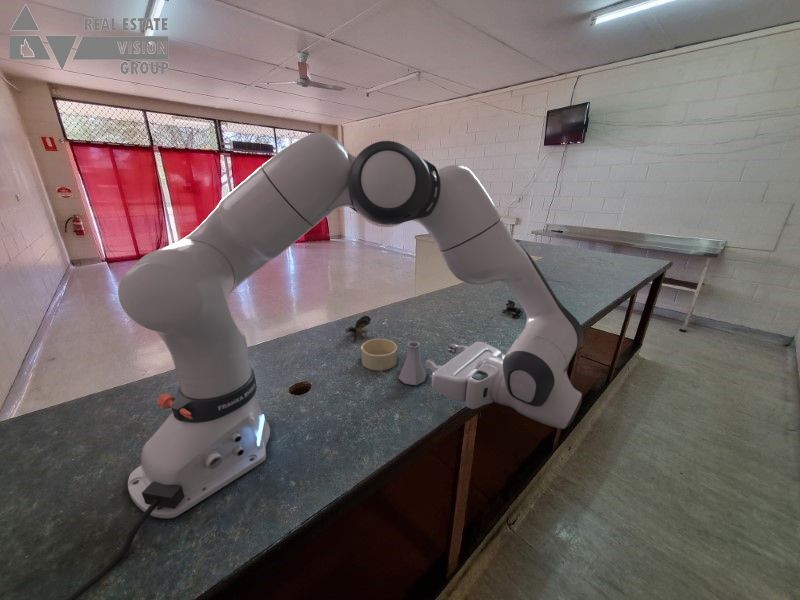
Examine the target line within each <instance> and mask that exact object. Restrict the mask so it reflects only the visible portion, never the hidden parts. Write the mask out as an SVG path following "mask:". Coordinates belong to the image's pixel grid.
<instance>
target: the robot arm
mask: <svg viewBox="0 0 800 600" xmlns="http://www.w3.org/2000/svg"><path fill="white" fill-rule="evenodd" d="M345 207H348V208H350V209H351V210H352V211H354V212H356V213H357V214H358V215H359V216H360V217H362V219H364V220H365V221H366V222H367V223H369V224H371V225H373V226H376V227H380V228H393V227H397V226H400V225H402V224H404V223H407V222H410V221H414V222H416V223H418V224H420V225H421V226H422V227H423V228H424V229H425V230H426V231H427V232H428V234H429V235H430V237H431V238H432V241H433V243H434V244H435V247H436V248H437V250H438V252H439V254H440V256H441V258H442V260H443V262H444V264H445V266H446V267H447V268H448V270H449V271H450V272H451V273H452V275H453V276H454V277H455V278H456V279H458V280H459V281H461V282H464V283H467V284H471V285H477V286H478V285H480V286H481V285H487V284H492V283H497V282H502V283H503V284H505V285H506V286H508V288H509V289H510V291H511V292H512V294H513V295H514V297H515V298H516V300H517V301H518V303H519V304H520V306H521V307H522V308H523V310H524V312H525V314H526V322H525V325H524V327H523V329H522V331H521V333H520V334H519V335H518V336H517V338H516V339H515V340H514V342H513V343H512V344H511V346H510V348H509V349H508V350H507V352H506V353H503V351H502V350H501V349H499V348H497V347H495V346H493V345H491V344H488V343H487V342H483V341H475V342H474V343H473V344H472V343H471V345H469V346H468V345H458V344H455V343H451V344H449V345H448V349H447V352H448V353H451V354H452V355H455V354H457V355H456V356H454V357H452V358H451V359H450V360H448V361H447V362H446V363H445V364H443V365H440V364H439V365H437V364H436V360H435V359H432V358H428V359H426V360H425V361H424V367H425V368H426V369H427V370H430V371H431V373H432V375H431V387H432V389H433V391H435V392H437V393H439V394H440V395H442V396H444V397H446V398H448V399H450V400H452V401H455V402H458V403H459V402H460V403H462V402H464V404H465V407H466V408H468V409H470V410H476V409H479V408H481V407H483V406H485V405H488V404H492V403H496V404H499V405H501V406H507V407H510V408H512V409H513V410H515V411H516V412H517V413H518V414H520V415H522V416H524V417H527V419H530V420H532V421H536V422H537V423H540V424H543V425H546V426H548V427H552V428H555V429H561V430H564V429H566V428H569V426H570V425H571V424H572V422H573V421H574V420H575V417H576V415H577V413H578V412H579V409H580V407H581V405H582V402H583V393H582V392H581V391H579V390H577V389H576V388H575V387H574V385H573V384H572V382H571V380H570V379H569V376H568V372H567V368H568V366H569V364H570V362H571V360H572V359H573V357H574V356H575V354H576V353H577V351H578V350H579V348H580V347H581V345H582V344H583V342H584V339H585V338H584V337H585V336H584V335H585V333H584V330H583V327H582V325H581V323H580V321H578V319H577V318H576V317H575V316H574V315H573V314H572V313H571V312H570V311H569V310H568V309H567V308H566V307H565V306H564V305H563V304H562V303H561V302H560V300H559V299H558V297H557V296H556V294H555V293H554V291H553V290H552V288H551V286H550V284H549V283H548V280H546V278H545V276H544V274H543V273H542V272H541V270H540V268H539V266H538V265H537V263H536V262H535V260H534V259H533V257H532V255H530V253H529V252H528V251H527V250H526V248H524V246H522V245H521V244H520V243H518V242H517V241H516V240H515V238H514V237H513V235H512V234H511V232H510V231H509V229H508V227H507V225H506V224H505V222H504V220H503V218H502V216H501V214H500V212H499V211H498V208H497V206H496V205H495V203H494V201H493V199H492V198H491V196H490V195H489V193H488V192H487V190H486V188H485V187H484V185H483V184H482V183H481V181H480V180H479V179H478V177H477V176H476V175H475V173H474V172H473V171H472V170H471V169H470V168H469V167H467V166H465V165H462V164H450V165H447V166H446V165H445V166H443V167H440V168H438V167H437V166H436V165H435V164H433V163H432V162H430V161H428V160H427V159H425V158H423V157H422V156H420V155H419V154H418V153H417V152H415V151H414V150H412V149H411V148H409V147H408V146H406V145H404V144H402V143H400V142H398V141H393V140H381V141H377V142H373V143H371V144H369V145H367V146H366V147H364V148H363V149H362V150H361V151H360V152H359V153H357V155H356V156H355V155H353V154H351V153H350V152H349V151H348V150H347V148H346V147H345V145H343V144H342V142H340V141H339V140H338V139H337V138H335V137H333V136H332V135H329V134H328V133H325V132H319V131H315V132H312V133H310V134H308V135H306V136H304V137H302V138H300V139H298V140H296V141H294V142H292V143H291V144H290V145H288V146H286V147H285V148H283V149H282V150H280V151H279V152H278V153H276V154H275V155H273V156H272V157H271V158H270V159H268V160H267V161H266V162H264V163H263V164H262V165H261V166H259V167H258V168H257V169H256V170H255V171H254V172H253V173H251V174H250V175H249V176H248V177H246V179H244V180H243V181H242V182H241V183H240V184H238V185H237V186H236V187H235V188H234V189H232V191H230V192H228V194H227V195H226V196H224V197H223V198H222V199H221V200H220V201H219V203H218V204H217V206H216V207H215V208H214V209H213V210H212V211H211V213H210V214H209V215H208V216H207V217H206V219H204V220H203V221H202V222H201V223H200V225H199V226H197V227H196V228H195V230H193V231H192V232H191V233H189V234H188V235H186V236H185V237H182V238H181V239H179V240H177V241H175V242H172V243H171V244H169V245H166V246H163V247H161V248H158V249H156V250H153V251H151V252H149V253H147V254H145V255H144V256H142V257H141V258H140V259H139V260H137V261H136V262H135V263H134V264H133V265H132V267H130V268H129V270H127V272H125V274H124V275H123V276H122V278H121V279H120V282H119V284H118V289H117V295H118V300H119V304H120V306H121V308H122V309H123V311H124V313H125V314H126V315H127V316H128V317H129V318H130V319H131V320H132V321H134V322H135V323H136V324H137V325H139V326H141V327H143V328H145V329H148V330H150V331H152V332H153V331H154V332H156V333H157V335H158V336H159V337H160V339H161V340H162V341H163V343H164V344H165V346H166V347H167V349H168V352H169V354H170V357H171V360H172V362H173V366H174V370H175V373H176V376H177V377H176V378H177V380H178V384H179V388H178V390H177V392H176V393H177V394H176V397H174V396H172V395H171V394H169V393H163V394H161V395H160V396H158V399H157V405H158V406H161V407H162V408H163V409H165V410H167V409H171V411H172V412H171V413H170V415H169V416H168V417H167V418H166V419H165V421H164V422H163V423H162V424H161V425H160V427H159V428H157V430H156V431H155V432H154V433H153V434H152V435H151V437H150V438H148V440H147V441H146V442H145V443H144V445H143V447H142V450H141V454H140V465H139V466H138V467H136V468H134V469H133V470H132V472H130V473H129V476H128V480H127V489H128V494H129V497H130V498H131V500H132V502H133V503H134V504H135V505H136V507H138V508H139V510H141V511H142V512H143V513H142V514H141V516H140V517H139V518H138V520H137V521H136V523H135V524H134V525H133V526H132V528H131V529H130V532H129V533H128V535H127V537H126V539H125V542H124V544H123V546H122V547H121V548H120V550H119V551H118V552H117V553H116V554H115V556H113V557H112V559H111V560H110V561H109V562H108V563H106V565H104V567H102V568H101V569H100V570H99V571H98V572H97V573H95V574H94V575H93V576H92V577H91V578H89V579H88V580H87V581H85V582H84V583H83V584H82V585H80V586H79V587H78V588H77V589H75V590H74V591H73V592H72V593H71V594H69V595H68V596H67V597H65V598H64V600H76V599H77V598H78V597H80V596H81V595H83V593H85V592H86V591H87V590H89V588H91V587H92V586H93V585H94V584H96V583H97V582H98V581H99V580H100V579H102V578H103V577H104V576H105V575H106V574H107V573H108V572H109V571H111V569H112V568H114V566H115V565H116V564H117V563H119V562H120V560H122V558H123V557H124V555H125V554H126V553H127V552H128V550H129V549H130V547H131V546H132V544H133V542H134V540H135V537H136V535H137V533H138V531H139V530H140V529H141V527H142V525H143V524H144V523H145V521H146V520H147V519H148V517H149V516H151V517H154V518H158V519H174V518H177V517H178V516H180V515H181V514H183V513H185V512H186V511H188V510H190V509H191V508H192V507H194V506H196V505H197V504H199V503H201V502H202V501H204V500H205V499H207V498H209V497H211V496H212V495H214V493H216V492H218V491H220V490H221V489H222V488H225V487H226V486H228V485H229V484H230V483H232V482H234V481H235V480H236V479H238V478H240V477H241V476H243V475H245V474H246V473H248V472H249V471H251V470H253V469H254V468H256V467H258V466H259V465H261V464H262V463H263V462H264V461H265V460H266V459H267V445H268V442H269V439H270V436H271V426H270V424H269V422H268V421H267V419H266V418H265V414H263V411H262V409H261V406H260V403H259V400H258V396H257V389H258V387H257V385H258V384H257V380H256V374H255V371H254V368H252V366H251V359H250V353H249V348H248V341H247V337H246V333H245V332H244V331H243V329H241V328H239V327H238V325H237V322H236V321H235V318H234V316H233V314H232V311H231V306H230V297H231V295H232V293H234V291H235V290H236V289H237V288H239V286H240V285H242V284H243V283H244V282H245V281H247V280H248V279H249V278H251V277H252V276H253V275H254V274H256V273H257V272H258V271H260V270H261V269H263V268H264V267H265V266H266V265H268V264H269V263H270V262H272V261H273V260H275V259H277V258H278V257H279V256H280V255H281V254H283V253H284V252H285V251H287V250H288V249H289V248H290V247H291V246H292V245H294V244H295V243H296V242H297V241H298V240H300V239H301V238H302V237H303V236H304V235H306V234H307V233H308V232H309V231H311V230H312V229H313V228H314V227H316V226H317V225H318V224H319V223H320V222H322V221H323V220H324V219H325V218H326V217H328V216H329V215H330V214H332V213H333V212H335V211H337V210H338V209H342V208H345Z"/></svg>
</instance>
